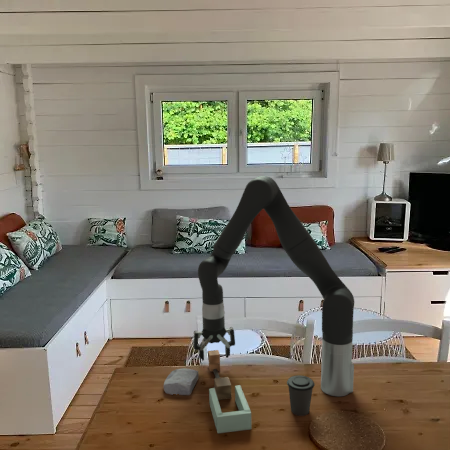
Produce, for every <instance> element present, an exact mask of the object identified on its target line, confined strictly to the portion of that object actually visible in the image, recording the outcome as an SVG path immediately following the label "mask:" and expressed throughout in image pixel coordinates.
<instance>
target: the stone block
mask: <svg viewBox="0 0 450 450" xmlns="http://www.w3.org/2000/svg"><path fill="white" fill-rule="evenodd" d="M198 380H199V371H198V370H195V369H192V368H191V369H190V368H185V367H184V368H176V369H173V370H172V371H170V373H169V374H168V375H167V377H166V378H165V380H164V382H163V390H164V392H165V394H167V395H173V394H176V395H177V394H179V395H180V396H191V394H192V393H193V390H194V387H195V385H196V384H197V382H198ZM176 395H175V396H176ZM177 396H178V395H177Z"/></svg>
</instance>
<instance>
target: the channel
mask: <svg viewBox="0 0 450 450" xmlns="http://www.w3.org/2000/svg"><path fill="white" fill-rule="evenodd" d="M208 393H209V394H208V395H209V396H208V399H209V407H210V411H211V414H212V418H213V421H214V425H215V430H216V432H217V434H224V433H230V432H232V433H233V432H239V431H240V432H241V431H247V430H252V411H251V409H250V406H249V403H248V401H247V399H246V396H245V394H244V391H243V390H242V385H240V384H239V385H235V386H234V401H235V404H236V406H237V409H238V410H236V411H227V412H223V411H222V409H221V406H220V402H219V400H218V398H217V395H216V392H215V387H212V388H208Z"/></svg>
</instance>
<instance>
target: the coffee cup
mask: <svg viewBox="0 0 450 450" xmlns="http://www.w3.org/2000/svg"><path fill="white" fill-rule="evenodd" d="M286 385H287V386H288V394H289V395H288V396H289V402H290V403H289V405H290V412H291V413H292V414H293V415H295V416H300V417H305V416H306V415H309V413H310V408H311V401H312V395H313V389H314V388H315V385H316V384H315V381H314V380H313V379H312V378H310V377H308V376H306V375H293V376H290V377H289V378H288V379H287V381H286Z"/></svg>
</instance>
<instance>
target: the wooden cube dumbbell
mask: <svg viewBox="0 0 450 450" xmlns="http://www.w3.org/2000/svg"><path fill="white" fill-rule="evenodd" d="M207 352H208V353H207V355H208V359H207V360H208V369H209V372H213V374H214V377H215V378H214V379H213V380H214V387H213V388H215V392H216V395H217V398H218V401H220V400H229V399H232V383H231V381H230V378H229V377H228V376H225V377H220V375H219V372H220V371H221V355H220V351H219V350H218V349H215V350H208V351H207Z"/></svg>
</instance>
